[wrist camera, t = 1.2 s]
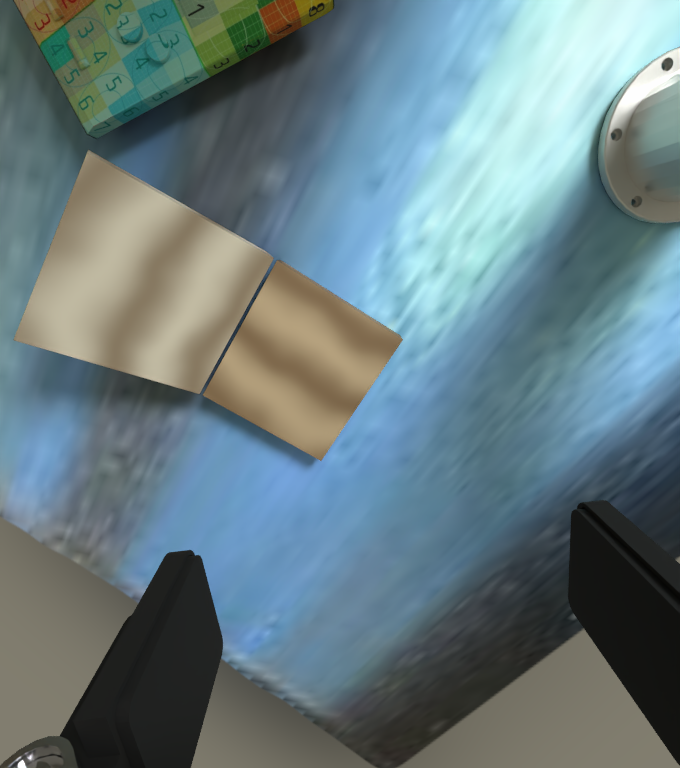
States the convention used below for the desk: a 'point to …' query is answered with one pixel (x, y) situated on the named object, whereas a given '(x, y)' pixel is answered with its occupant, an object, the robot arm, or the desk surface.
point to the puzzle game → (151, 47)
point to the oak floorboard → (301, 361)
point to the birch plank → (140, 281)
